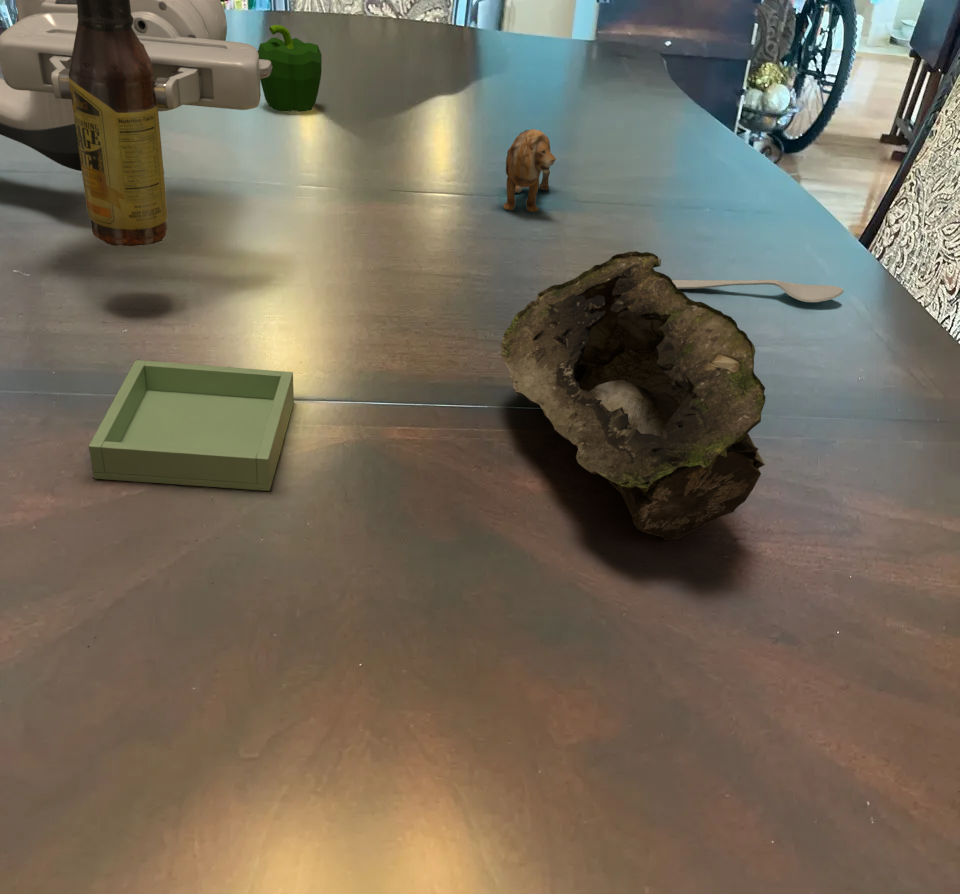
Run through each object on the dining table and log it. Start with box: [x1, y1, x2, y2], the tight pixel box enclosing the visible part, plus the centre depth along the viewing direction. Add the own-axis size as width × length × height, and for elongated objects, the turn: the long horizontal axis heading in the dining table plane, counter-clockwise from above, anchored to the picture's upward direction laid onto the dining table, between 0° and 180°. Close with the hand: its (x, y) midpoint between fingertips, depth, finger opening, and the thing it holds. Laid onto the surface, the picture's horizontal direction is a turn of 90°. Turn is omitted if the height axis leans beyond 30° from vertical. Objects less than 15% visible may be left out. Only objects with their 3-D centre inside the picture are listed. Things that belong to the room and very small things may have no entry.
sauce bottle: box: [68, 0, 169, 247], centre depth 80 cm, size 6×6×20 cm
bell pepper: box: [257, 24, 323, 113], centre depth 138 cm, size 8×8×10 cm
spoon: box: [671, 279, 844, 303], centre depth 104 cm, size 4×21×2 cm, turn 88°
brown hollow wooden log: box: [500, 250, 766, 541], centre depth 73 cm, size 28×13×15 cm
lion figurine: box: [502, 128, 557, 213], centre depth 118 cm, size 15×5×9 cm, turn 176°
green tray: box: [88, 359, 295, 492], centre depth 74 cm, size 12×13×2 cm
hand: (112, 92), depth 79 cm, fingers closed on sauce bottle, 6 cm apart
